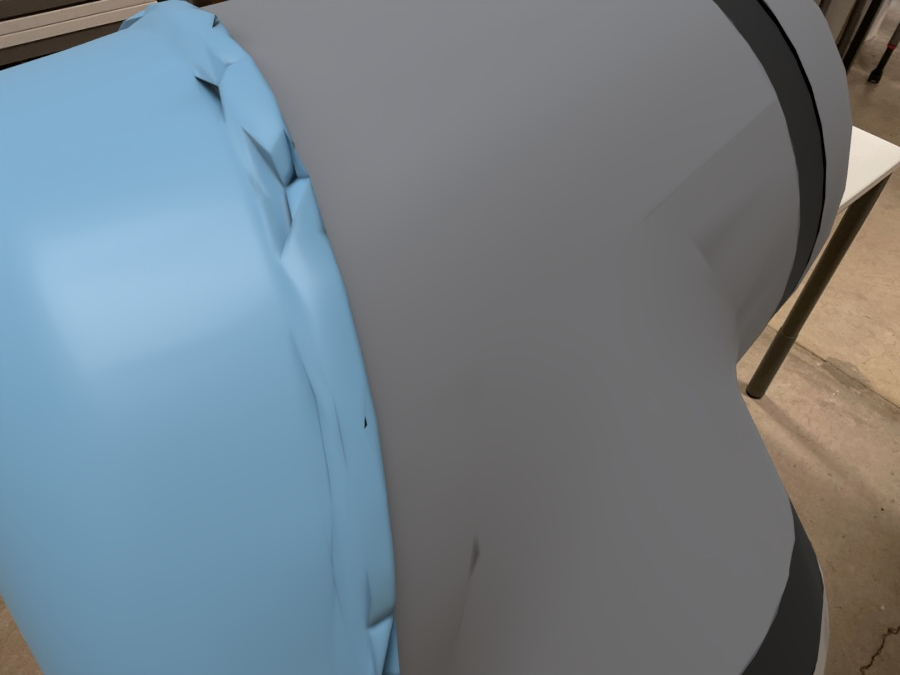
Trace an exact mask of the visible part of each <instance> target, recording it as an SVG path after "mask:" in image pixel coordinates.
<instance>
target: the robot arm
mask: <svg viewBox="0 0 900 675" xmlns="http://www.w3.org/2000/svg"><path fill="white" fill-rule="evenodd" d="M848 85H849V84H848V77H847V71H846V67H845V65H844V62H843V59H842V57H841V55H840V52H839V49H838V46H837V44H836V41H835V39H834V36H833V33H832V31H831V28H830V25H829V23H828V20H827V19H826V16H824V12H822V9H821V8H820V6H819V5H818V4H817V3H816V2H815V0H225V1H221V2H217V3H213V4H209V5H206V6H202V7H198V6H196V5H194V4H192V3H190V2H189V1H187V0H164V1H159V2H155V3H151V4H147V5H146V8H145V9H144V10H140V11H138V12H137V13H135V14H133V15H132V16H130V17H128V18H126V19H125V20H123V21H122V23H121V24H120V26H119V28H118V30H117V31H116V32H113V33H110V34H107V35H104V36H101V37H98V38H95V39H92V40H91V41H90V40H89V41H88V42H87V41H86V42H85V43H81V44H78V45H76V46H72V47H70V48H67V49H64V50H62V51H59V52H55V53H52V54H49V55H46V56H42V57H40V58H37V59H36V58H35V59H33V60H30V61H26V62H23V63H21V64H17V65H15V66H10V67H7V68H5V69H2V70H0V597H1V599H2V601H3V602H4V604H5V606H6V608H7V610H8V612H9V614H10V616H11V617H12V619H13V621H14V623H15V625H16V627H17V629H18V630H19V633H20V635H21V637H22V638H23V640H24V641H25V644H26V646H27V647H28V649H29V651H30V653H31V654H32V656H33V659H34V660H35V662H36V664H37V666H38V668H39V670H40V671H41V672H42V674H43V675H825V670H826V663H827V657H828V651H829V650H828V649H829V644H830V622H829V621H830V620H829V604H828V598H827V592H826V584H825V578H824V572H823V570H822V567H821V564H820V562H819V559H818V557H817V554H816V552H815V549H814V547H813V545H812V543H811V540H810V538H809V536H808V534H807V532H806V530H805V528H804V525H803V523H802V521H801V519H800V517H799V514H798V513H797V510H796V508H795V507H794V504H793V502H792V500H791V498H790V495H789V494H788V491H787V489H786V487H785V485H784V482H783V481H782V479H781V476H780V475H779V472H778V470H777V467H776V466H775V463H774V461H773V459H772V456H771V455H770V453H769V451H768V449H767V446H766V444H765V442H764V440H763V438H762V436H761V434H760V432H759V429H758V427H757V424H756V422H755V421H754V419H753V416H752V414H751V412H750V410H749V408H748V406H747V404H746V402H745V399H744V397H743V394H742V393H741V390H740V386H739V382H738V374H737V365H738V364H739V362H741V360H742V359H743V357H744V356H745V355H746V354H747V352H748V351H749V350H750V349H751V347H752V346H753V345H754V343H755V342H756V341H757V340H758V339H759V337H760V336H761V335H762V333H763V332H764V330H765V329H766V328H767V326H768V324H769V323H770V321H771V320H772V319H773V318H774V317H775V315H776V314H777V313H778V312H779V311H780V310H781V308H782V307H783V306H784V305H785V304H786V302H787V301H788V300H789V299H790V298H791V297H792V296H793V295H794V294H795V292H796V291H797V290H798V288H799V287H800V285H801V283H802V282H803V280H804V279H805V277H806V275H807V274H808V272H809V271H810V269H811V268H812V266H813V264H814V263H815V262H816V260H817V258H818V257H819V254H820V253H821V252H822V250H823V248H824V246H825V244H826V242H827V241H828V239H829V237H830V235H831V233H832V229H833V226H834V224H835V221H836V218H837V215H838V212H839V209H840V207H841V204H842V201H843V197H844V194H845V191H846V188H847V180H848V173H849V164H850V154H851V145H852V137H853V136H852V135H853V128H854V127H853V125H854V122H853V115H852V108H851V107H852V106H851V101H850V92H849V86H848Z"/></svg>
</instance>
